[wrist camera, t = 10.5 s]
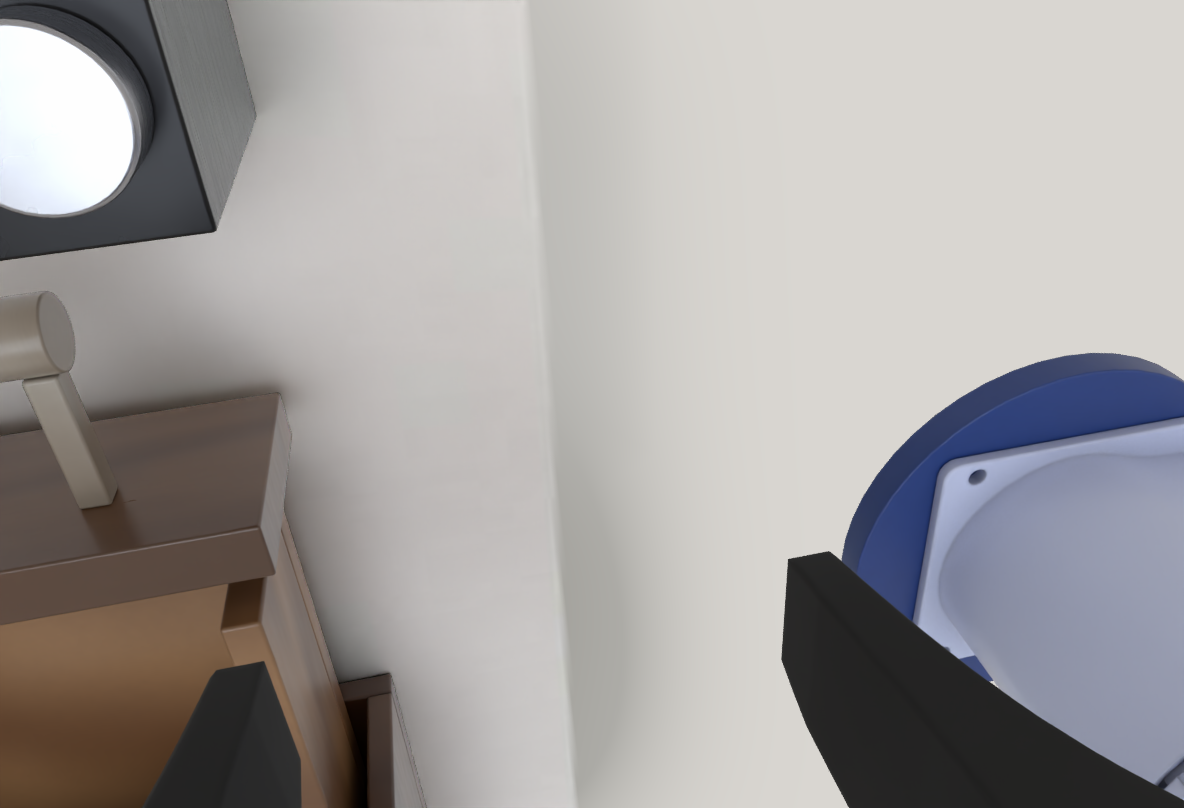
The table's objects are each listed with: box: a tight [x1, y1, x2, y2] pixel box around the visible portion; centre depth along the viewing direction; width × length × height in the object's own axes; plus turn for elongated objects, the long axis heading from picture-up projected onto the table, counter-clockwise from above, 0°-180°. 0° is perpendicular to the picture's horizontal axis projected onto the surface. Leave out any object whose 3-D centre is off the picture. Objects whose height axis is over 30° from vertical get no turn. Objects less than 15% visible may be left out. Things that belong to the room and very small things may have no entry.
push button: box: [0, 0, 256, 261], centre depth 14 cm, size 3×4×7 cm
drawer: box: [0, 291, 367, 808], centre depth 20 cm, size 18×11×5 cm, turn 4°
